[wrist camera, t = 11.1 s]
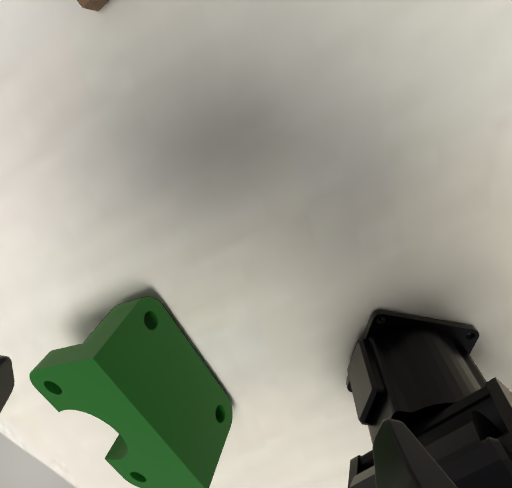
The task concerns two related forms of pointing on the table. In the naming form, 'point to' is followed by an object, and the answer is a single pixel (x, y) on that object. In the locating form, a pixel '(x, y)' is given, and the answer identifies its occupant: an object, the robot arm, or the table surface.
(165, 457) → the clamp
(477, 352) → the table surface
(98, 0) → the subfloor panel
